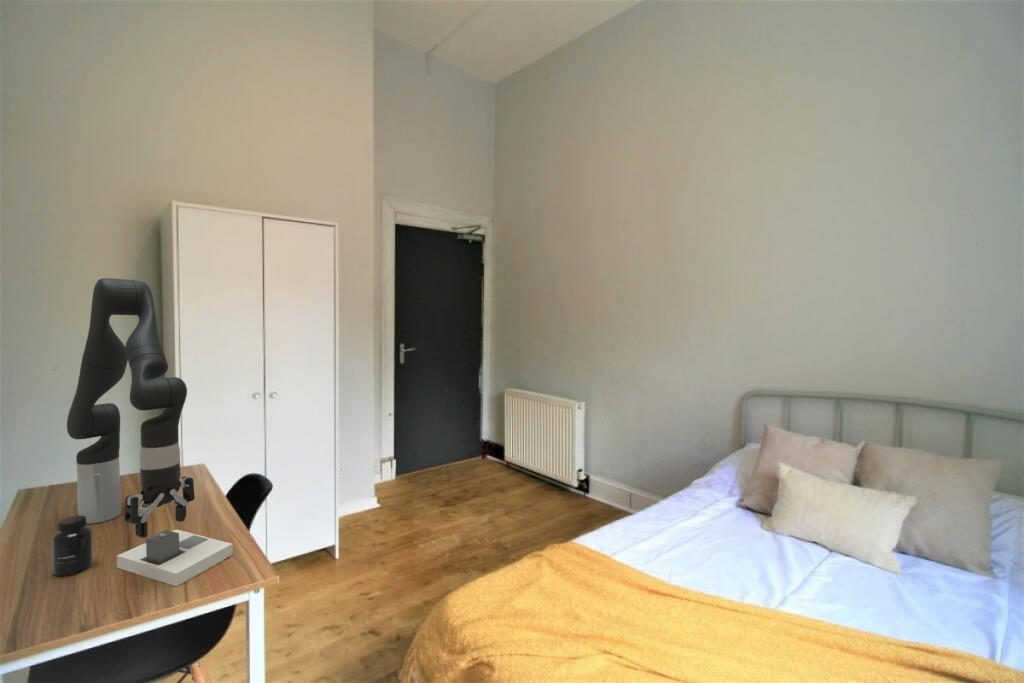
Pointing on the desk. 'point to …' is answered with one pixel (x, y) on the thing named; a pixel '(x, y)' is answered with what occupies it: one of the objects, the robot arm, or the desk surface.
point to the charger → (162, 547)
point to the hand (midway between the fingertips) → (162, 528)
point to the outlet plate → (178, 559)
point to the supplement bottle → (72, 546)
